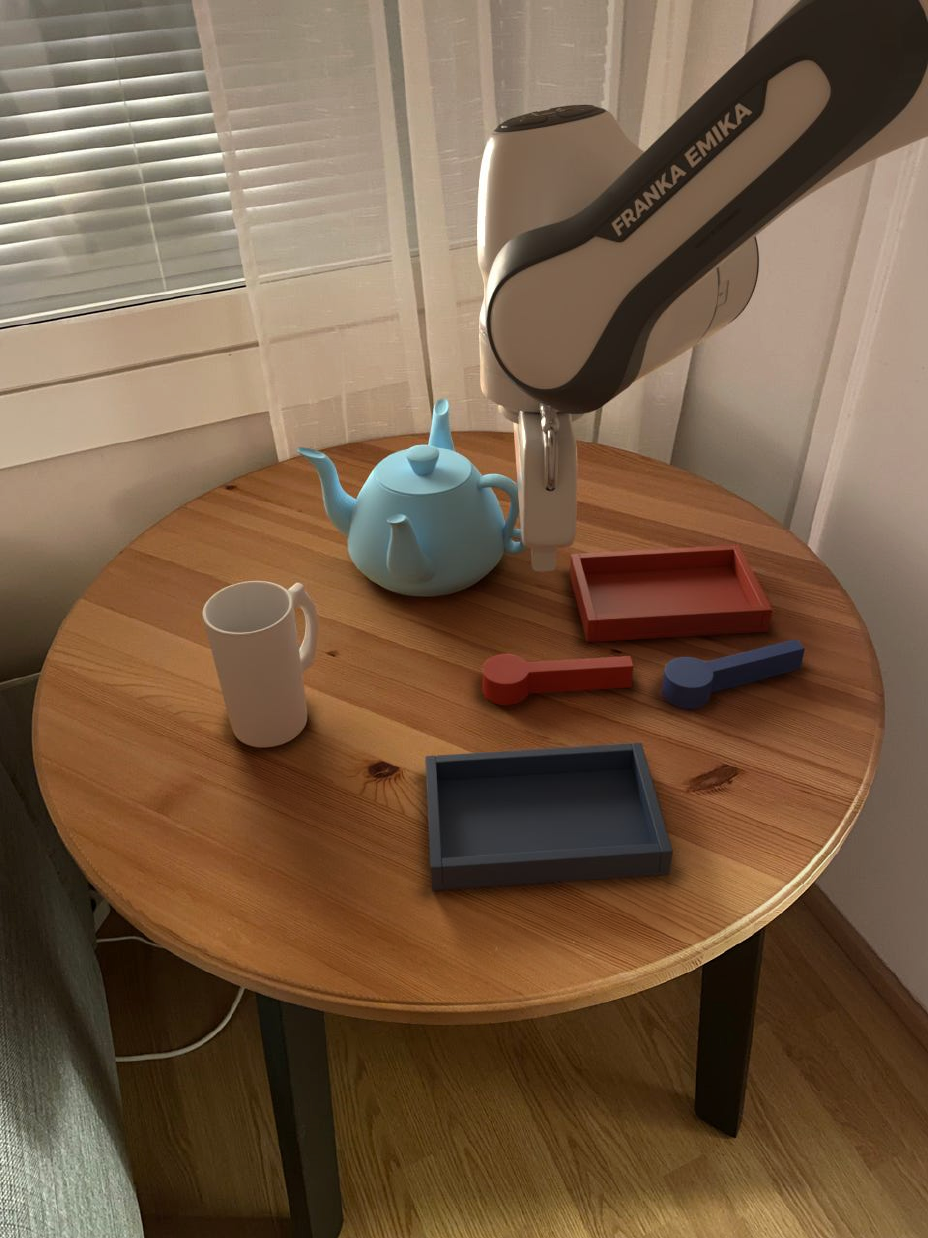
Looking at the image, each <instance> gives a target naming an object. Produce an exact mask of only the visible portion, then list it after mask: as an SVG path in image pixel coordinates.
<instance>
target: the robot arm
mask: <svg viewBox="0 0 928 1238" xmlns="http://www.w3.org/2000/svg"><path fill="white" fill-rule="evenodd" d="M927 137H928V0H794V1H793V3H792V4H791V5H790V6H789V7H788V8H787V9H786V10H785V12H783V14H782V15H781V16H780V17H779V18H778V20H777V21H776V22H775V23H774V24H773V25H772V27H771V28H770V29H769V30H768V31H767V32H766V33H765V34H764V35H763V36H762V37H761V38H760V39H758V41H757V42H756V43H755V44H754V45H753V46H752V47H750V49H749V50H748V51H747V52H745V54H744V55H743V56H742V57H740V59H738V60H737V62H735V63H734V64H733V65H731V67H730V68H729V69H728V70H727V71H726V72H724V74H723V75H722V76H721V77H720V78H719V79H718V80H717V81H715V82H714V83H713V84H712V85H711V86H710V87H709V88H708V89H707V90H706V91H705V92H704V93H703V94H702V95H701V96H700V97H699V98H698V99H697V100H696V101H695V102H694V103H693V104H692V105H690V107H689V108H687V110H686V111H685V112H684V113H683V114H682V115H681V116H680V117H678V118H677V119H676V121H674V122H673V123H672V124H671V125H670V126H669V127H668V128H667V129H666V130H665V131H664V132H663V133H662V134H661V135H660V136H659V137H658V138H657V139H656V140H655V141H654V142H653V143H652V144H651V145H650V146H649V147H647V149H646V150H643V149H642V148H640V147H639V145H637V144H636V143H634V142H633V141H632V140H631V139H630V138H629V137H628V136H627V134H625V132H624V131H623V130H622V128H621V126H620V125H619V123H618V121H617V120H616V118H615V117H614V115H613V113H612V112H610V111H609V110H607V109H605V108H603V107H600V106H595V105H594V104H572V105H563V106H555V107H551V108H548V109H544V110H539V111H532V112H529V113H525V114H522V115H518V116H515V117H512V118H509V119H507V120H505V121H503V122H502V123H500V124H499V125H497V127H496V128H495V129H494V130H492V132H491V133H489V137H488V138H487V140H486V144H485V147H484V151H483V154H482V159H481V163H480V170H479V180H478V181H479V182H478V192H477V221H476V222H477V225H476V227H477V228H476V231H477V235H476V236H477V238H476V239H477V262H478V266H479V270H480V272H481V276H482V280H483V286H484V287H483V288H484V290H483V291H484V292H483V294H484V295H483V301H482V305H481V309H480V313H479V319H478V320H479V321H478V325H479V327H478V329H479V333H478V334H479V373H480V374H479V377H480V378H479V379H480V390H481V392H482V394H483V395H484V396H485V398H486V399H488V400H489V401H491V402H492V403H494V404H496V405H498V407H497V408H498V411H499V414H501V416H502V417H504V418H505V419H507V420H508V421H509V422H512V423H513V436H514V450H515V453H514V454H515V466H516V478H517V479H516V480H517V485H518V496H519V510H520V512H519V524H520V529H521V535H522V541H523V544H524V545H525V546H526V547H527V548H528V549H529V548H530V549H531V550H530V558H531V568H532V570H533V571H535V572H536V573H539V572H540V573H541V572H553V571H554V570H556V567H557V559H558V557H557V556H558V549H559V548H568V547H571V546H572V545H573V544H574V542H575V539H576V536H577V520H578V519H577V518H578V516H577V515H578V514H577V513H578V473H579V472H578V469H579V468H578V447H577V439H576V433H575V429H574V423H575V422H576V421H578V420H579V419H580V418H581V417H583V416H584V415H585V414H589V413H592V412H594V411H597V410H599V409H601V408H602V407H604V406H605V405H606V404H608V403H609V402H611V401H612V400H614V399H615V398H616V397H617V396H619V395H620V394H621V393H623V392H624V391H626V390H627V389H628V388H629V387H631V385H632V384H634V383H635V382H637V381H639V380H640V379H642V378H643V377H646V376H647V375H649V374H651V373H653V372H654V371H655V370H658V369H659V368H661V367H662V366H664V365H666V364H668V363H669V362H671V361H673V360H674V359H676V358H678V357H679V356H681V355H683V354H685V353H686V352H687V351H689V350H690V349H692V348H694V347H695V346H697V345H699V344H700V343H702V342H704V341H705V340H707V339H709V338H711V337H712V336H714V335H715V334H717V333H718V332H720V331H721V330H722V329H724V328H726V326H728V325H730V324H731V323H732V322H734V321H735V320H736V319H737V318H738V317H739V316H740V315H741V314H742V313H743V312H744V311H745V309H746V308H747V307H748V305H749V303H750V301H751V299H752V297H753V295H754V292H755V290H756V287H757V283H758V278H759V271H760V254H759V253H760V252H759V245H758V240H757V236H758V235H759V234H760V233H762V232H763V231H764V230H766V228H768V227H769V226H770V225H772V224H773V223H774V222H775V221H776V220H777V219H779V218H780V217H781V216H783V214H785V213H786V212H787V211H789V210H790V209H791V208H793V207H794V206H796V205H797V204H799V203H800V202H801V201H803V200H804V199H806V198H807V197H809V196H810V195H811V194H813V193H816V192H817V191H818V190H820V189H821V188H823V187H825V186H826V185H829V184H830V183H831V182H834V181H835V180H837V179H839V178H841V177H842V176H844V175H846V174H848V173H850V172H852V171H854V170H856V169H858V168H860V167H862V166H864V165H866V164H868V163H870V162H873V161H875V160H876V159H878V158H881V157H883V156H885V155H888V154H890V153H892V152H894V151H896V150H899V149H901V148H903V147H906V146H909V145H911V144H914V143H916V142H918V141H920V140H923V139H925V138H927ZM573 422H574V423H573Z"/></svg>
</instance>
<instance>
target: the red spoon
mask: <svg viewBox="0 0 928 1238" xmlns="http://www.w3.org/2000/svg"><path fill="white" fill-rule="evenodd" d="M633 676H634V663H633V659H632V656H631V655H623V656H605V657H590V658H589V657H587V658H571V659H558V660H557V659H556V660H555V659H554V660H540V661H526V659H524V658H523V657H521V656H519V655H516V654H513V653H498V654H495V655H493V656H490V657H489V658H487V659H486V660H485V661H484V663H483V664H482V668H481V677H482V678H481V679H482V683H481V684H482V695H483V696H484V698H485V699H486V700H488V701H489V702H491V703H493V704H496V705H498V706H499V705H500V706H512V705H516V704H520V703H521V702H522V701H524V700H526V698H527V697H528V696H529V695H531V694H544V693H545V694H547V693H560V692H561V693H562V692H563V693H564V692H578V691H595V690H610V689H611V690H612V689H628V688H632V685H633Z"/></svg>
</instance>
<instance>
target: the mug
mask: <svg viewBox="0 0 928 1238" xmlns="http://www.w3.org/2000/svg"><path fill="white" fill-rule="evenodd" d="M298 607H299V608H300V609H301V610H302V612H303V615H304V618H305V631H304V637H303V640H302V642H301V645H300V646H299V637H298V629H297V622H296V614H295V609H296V608H298ZM202 619H203V621H204V627H205V631H206V636H207V639H208V644H209V647H210V651H211V655H212V659H213V662H214V666H215V669H216V674H217V679H218V681H219V685H220V689H221V693H222V697H223V701H224V704H225V709H226V713H227V716H228V717H227V718H228V720H229V723H230V727H231V730H232V732H233V735H234V736H235V737H236V739H237V740H238V741H240V742H241V743H243V744H245V745H247V746H250V747H254V748H273V747H278V746H282V745H284V744H286V743H288V742H291V741H292V740H293V739H295V738H296V737H297V736H299V735H300V734H301V733H302V732H303V730H304V728H305V727H306V725H307V722H308V708H307V698H306V691H305V690H306V689H305V683H304V677H303V674H304V673H305V672H306V671H307V670H309V669H310V668H311V667H313V665H314V664H315V659H316V651H317V644H318V637H319V636H318V635H319V615H318V610H317V607H316V604H315V603H314V601H313V599H312V598H311V595H309V594H308V592H307V591H306V587H305V585H303V584H302V583H300V582H295V583H294V584H293V585H292V586H291V587H289V588H288V589H286V587H283V586H282V585H280V584H277V583H274V582H271V581H266V580H265V581H264V580H250V581H243V582H238V583H235V584H231V585H228V586H226V587H224V588H222V589H220V590H219V591H217V592H215V593H214V594H213V595H211V597H209V599H207V601H206V602H205V604H204V605H203V609H202Z"/></svg>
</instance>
